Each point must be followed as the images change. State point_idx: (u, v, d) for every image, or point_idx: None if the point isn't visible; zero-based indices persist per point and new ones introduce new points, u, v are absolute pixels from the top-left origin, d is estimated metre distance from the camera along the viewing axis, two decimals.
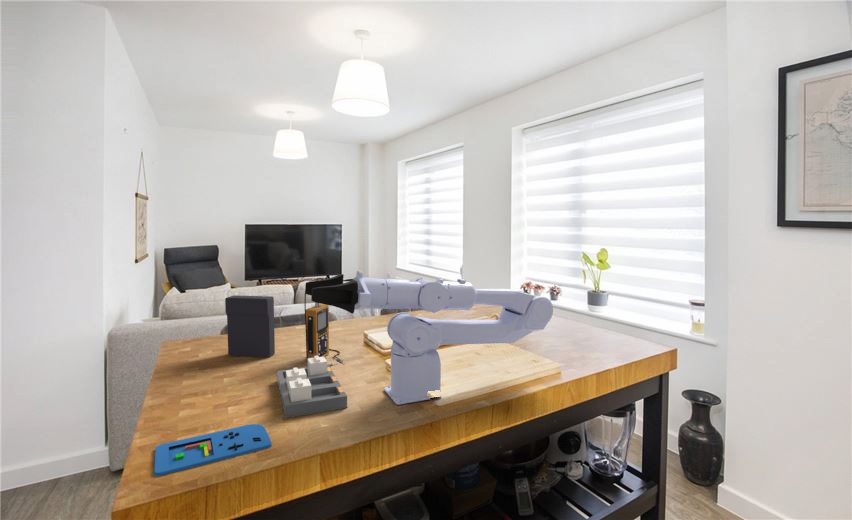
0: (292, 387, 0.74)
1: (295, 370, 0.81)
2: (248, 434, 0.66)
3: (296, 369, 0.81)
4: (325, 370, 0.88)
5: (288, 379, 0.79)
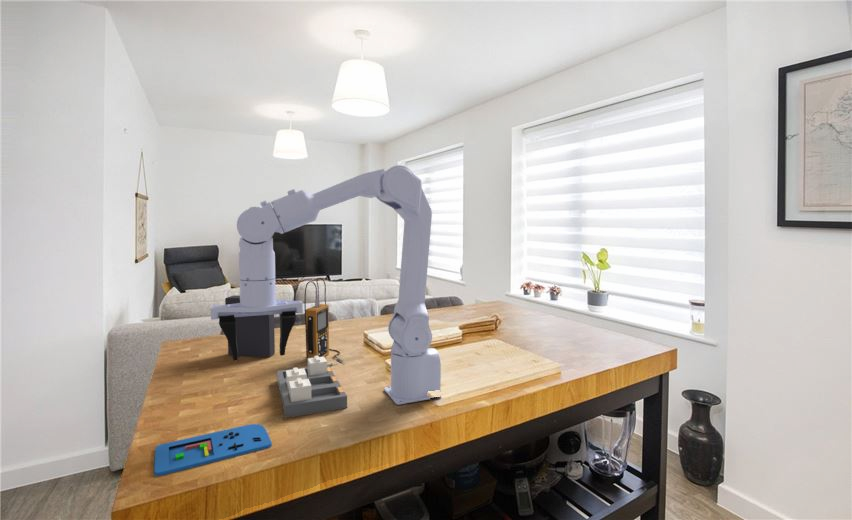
0: (292, 387, 0.74)
1: (295, 370, 0.81)
2: (248, 434, 0.66)
3: (296, 369, 0.81)
4: (325, 370, 0.88)
5: (288, 379, 0.79)
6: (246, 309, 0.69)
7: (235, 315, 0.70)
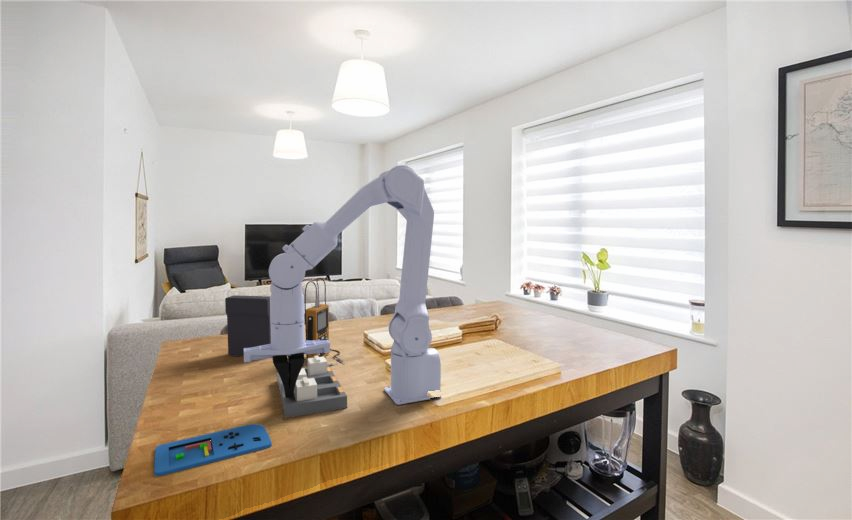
0: (298, 386, 0.74)
1: None
2: (248, 434, 0.66)
3: None
4: (325, 370, 0.88)
5: None
6: (277, 352, 0.71)
7: (266, 357, 0.73)
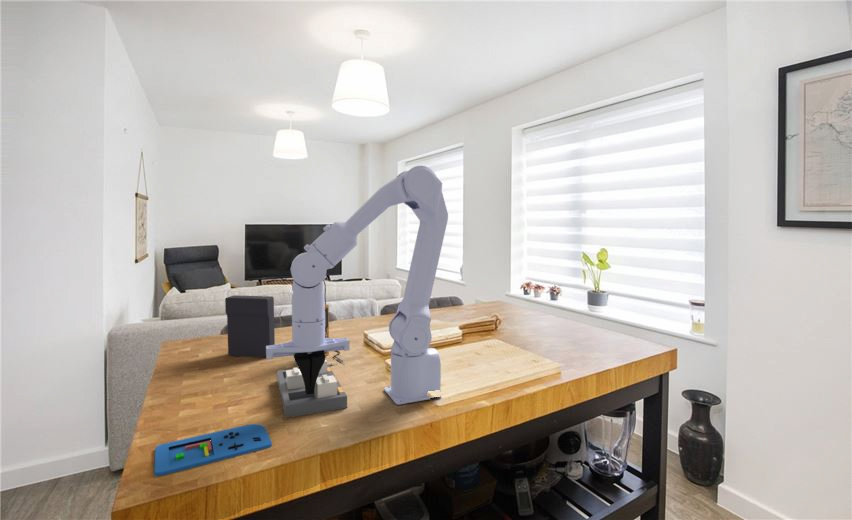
0: (319, 383, 0.76)
1: (295, 370, 0.81)
2: (248, 434, 0.66)
3: (296, 369, 0.81)
4: (325, 370, 0.88)
5: (288, 379, 0.79)
6: (299, 349, 0.73)
7: (288, 354, 0.74)
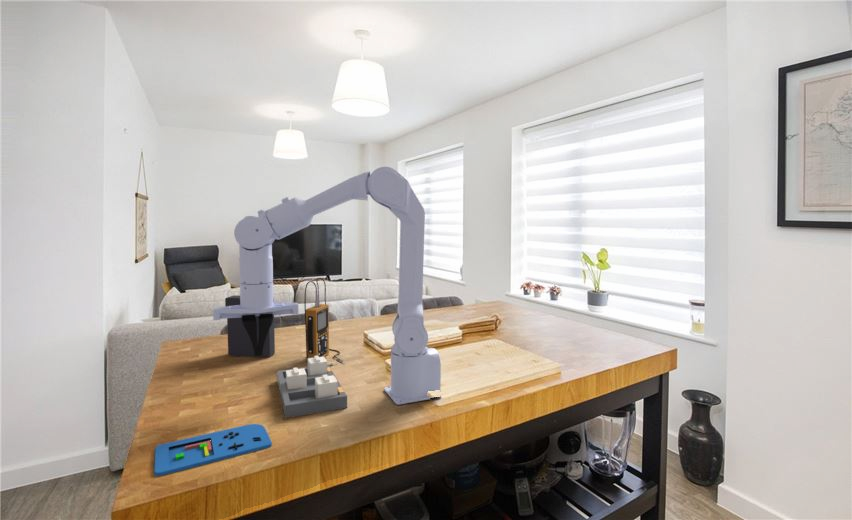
0: (319, 383, 0.76)
1: (295, 370, 0.81)
2: (248, 434, 0.66)
3: (296, 369, 0.81)
4: (325, 370, 0.88)
5: (288, 379, 0.79)
6: (246, 310, 0.74)
7: (236, 316, 0.76)
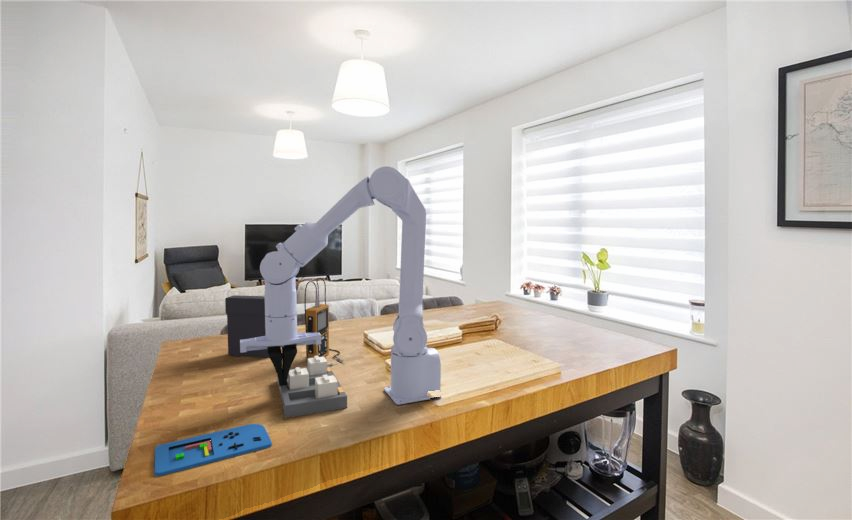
0: (319, 383, 0.76)
1: (297, 370, 0.81)
2: (248, 434, 0.66)
3: (298, 369, 0.81)
4: (325, 370, 0.88)
5: (290, 379, 0.79)
6: (271, 343, 0.76)
7: (261, 348, 0.78)
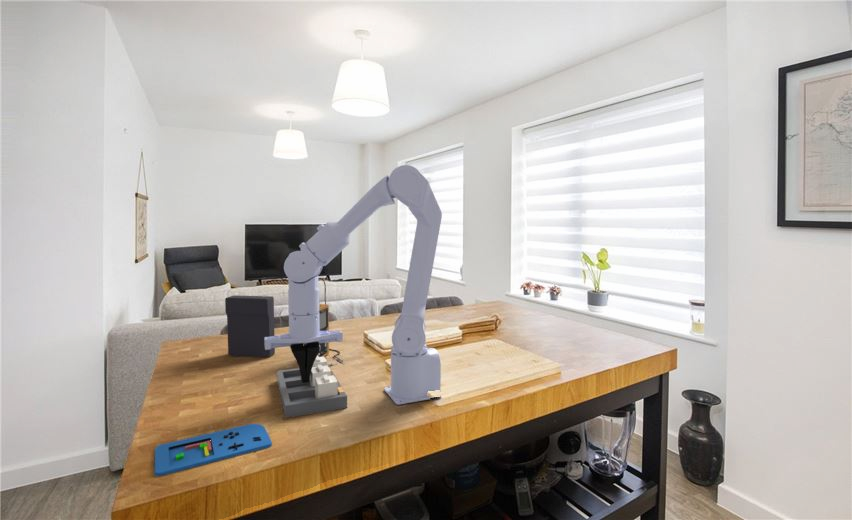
0: (319, 383, 0.76)
1: (319, 367, 0.83)
2: (248, 434, 0.66)
3: (320, 366, 0.83)
4: None
5: (313, 376, 0.81)
6: (295, 340, 0.78)
7: (285, 345, 0.80)
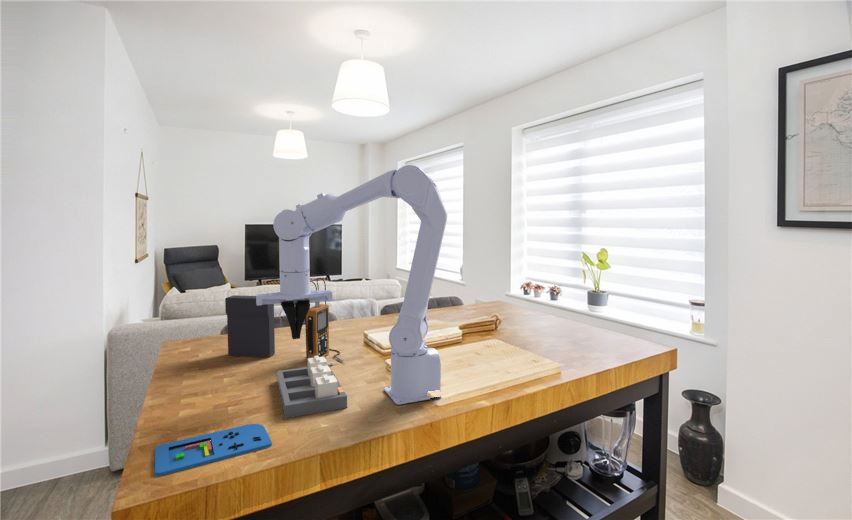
0: (319, 383, 0.76)
1: (320, 367, 0.83)
2: (248, 434, 0.66)
3: (320, 366, 0.83)
4: None
5: (313, 376, 0.81)
6: (286, 296, 0.81)
7: (276, 302, 0.82)
